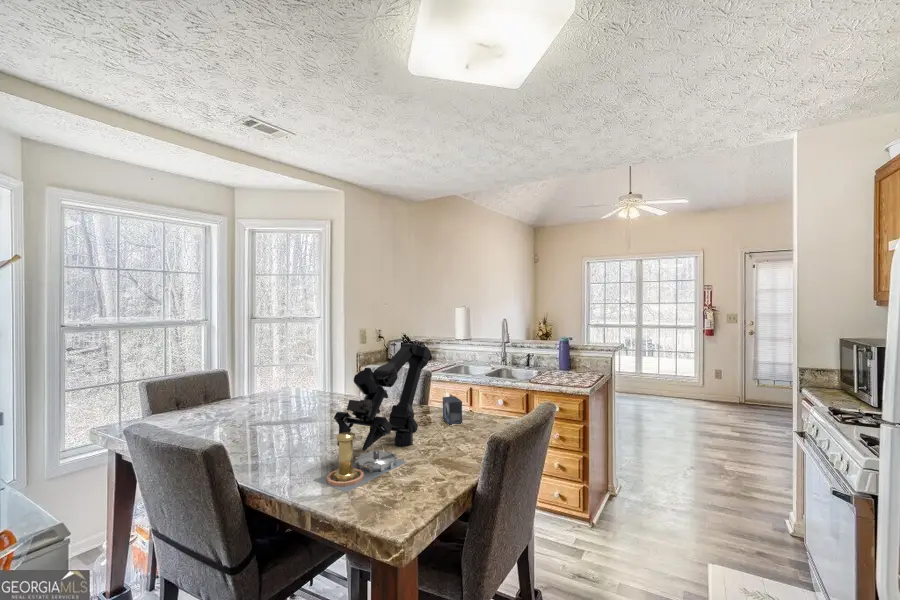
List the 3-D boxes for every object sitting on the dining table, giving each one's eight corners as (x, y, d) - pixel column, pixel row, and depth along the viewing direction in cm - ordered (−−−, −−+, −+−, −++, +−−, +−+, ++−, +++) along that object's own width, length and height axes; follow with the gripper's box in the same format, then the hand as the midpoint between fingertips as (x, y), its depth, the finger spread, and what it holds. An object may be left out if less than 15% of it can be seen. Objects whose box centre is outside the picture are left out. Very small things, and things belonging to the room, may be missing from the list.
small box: (441, 419, 189) (441, 396, 189) (455, 418, 191) (455, 395, 191) (448, 426, 179) (448, 402, 179) (462, 425, 181) (462, 400, 181)
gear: (375, 453, 142) (375, 442, 142) (405, 461, 135) (405, 449, 135) (345, 466, 131) (345, 453, 131) (377, 476, 124) (377, 462, 124)
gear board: (375, 457, 143) (375, 450, 143) (407, 466, 135) (407, 458, 135) (313, 485, 121) (313, 476, 121) (346, 497, 113) (346, 488, 113)
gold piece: (353, 471, 127) (353, 429, 127) (361, 479, 121) (361, 435, 121) (330, 476, 123) (330, 433, 123) (337, 485, 117) (337, 439, 118)
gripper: (337, 386, 133) (312, 430, 123) (386, 391, 125) (364, 439, 115) (352, 404, 140) (331, 448, 130) (400, 410, 132) (381, 457, 122)
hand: (350, 447), depth 124 cm, fingers open, 9 cm apart
